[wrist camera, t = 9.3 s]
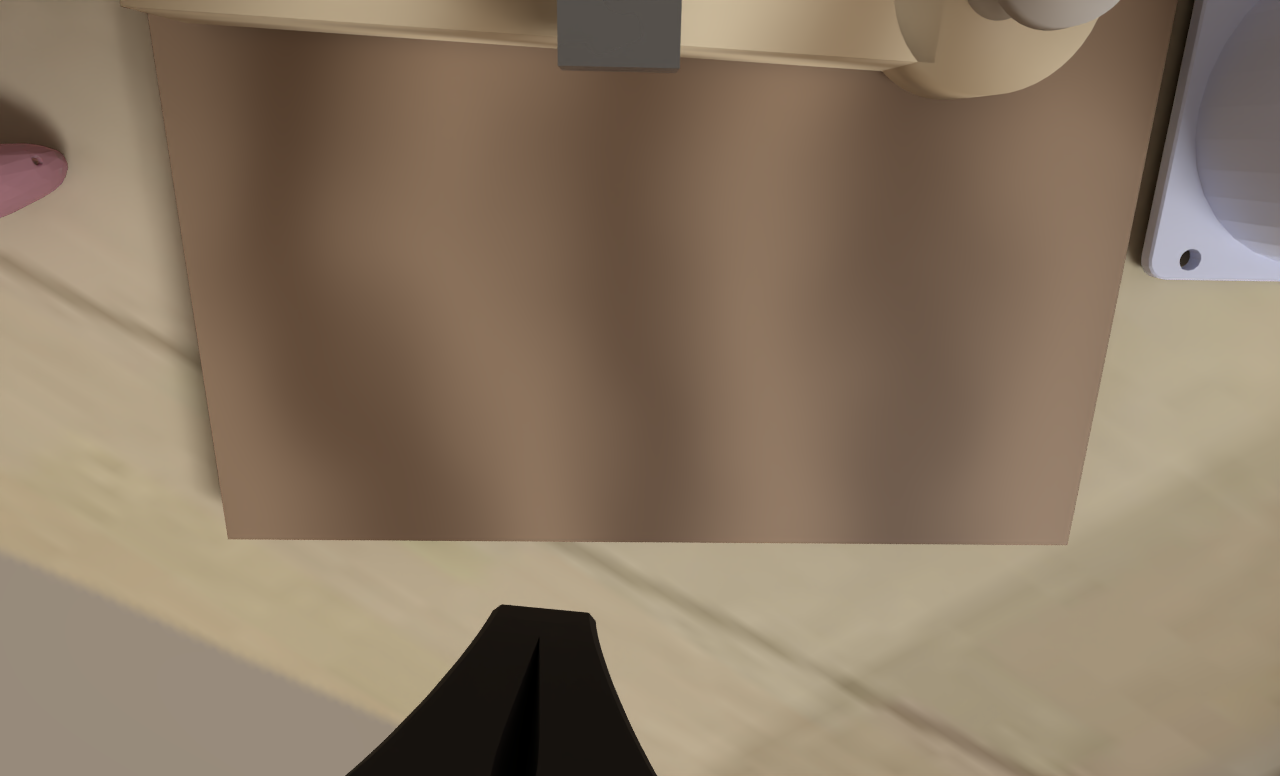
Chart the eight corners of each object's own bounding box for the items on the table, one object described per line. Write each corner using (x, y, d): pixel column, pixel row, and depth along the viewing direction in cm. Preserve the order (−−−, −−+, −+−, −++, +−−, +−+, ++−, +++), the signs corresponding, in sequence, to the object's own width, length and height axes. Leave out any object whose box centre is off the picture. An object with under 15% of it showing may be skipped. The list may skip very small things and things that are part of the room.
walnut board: (1250, -554, 15) (1301, -609, 14) (1044, 524, 22) (1067, 545, 21) (88, -603, 15) (43, -665, 14) (248, 517, 22) (228, 539, 21)
